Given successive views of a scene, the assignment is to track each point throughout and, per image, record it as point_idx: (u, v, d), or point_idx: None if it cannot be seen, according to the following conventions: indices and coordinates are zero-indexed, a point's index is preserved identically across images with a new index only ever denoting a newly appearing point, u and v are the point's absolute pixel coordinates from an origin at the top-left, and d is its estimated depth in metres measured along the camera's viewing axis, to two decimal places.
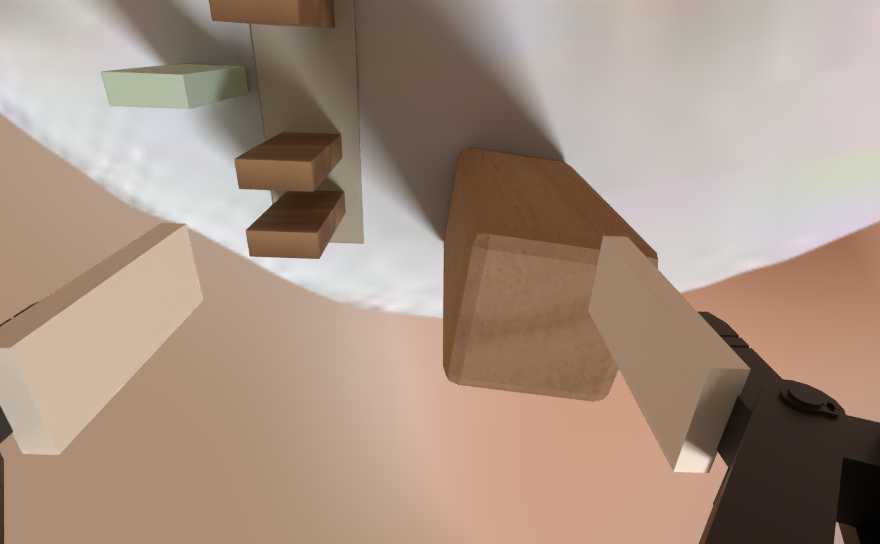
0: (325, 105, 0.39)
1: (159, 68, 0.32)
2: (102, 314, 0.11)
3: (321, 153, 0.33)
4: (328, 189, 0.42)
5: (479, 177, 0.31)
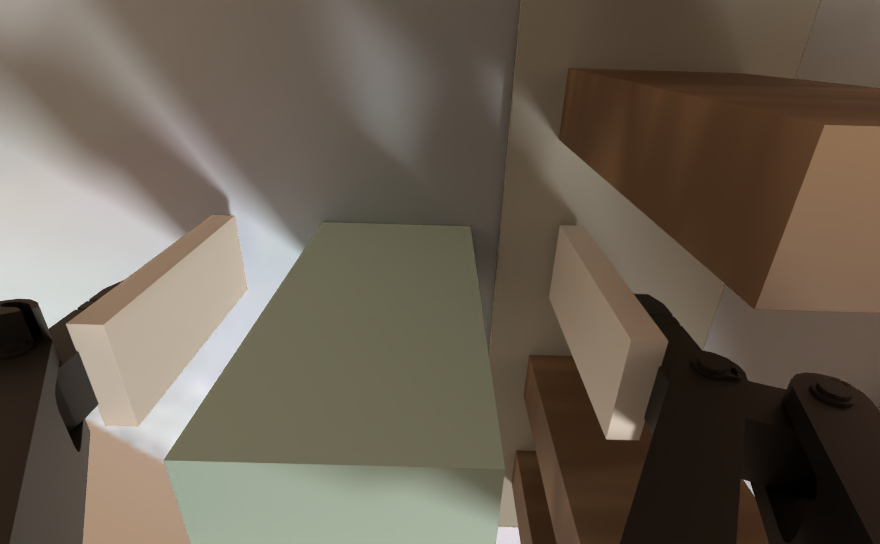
0: None
1: (321, 314, 0.11)
2: (171, 298, 0.12)
3: None
4: None
5: None
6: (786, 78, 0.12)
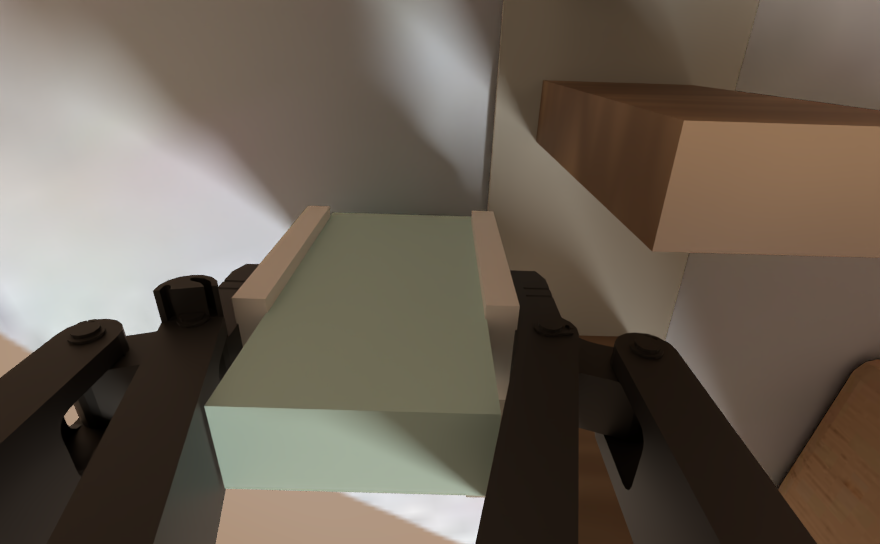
0: (613, 289, 0.19)
1: (336, 291, 0.12)
2: None
3: None
4: None
5: None
6: (721, 89, 0.14)
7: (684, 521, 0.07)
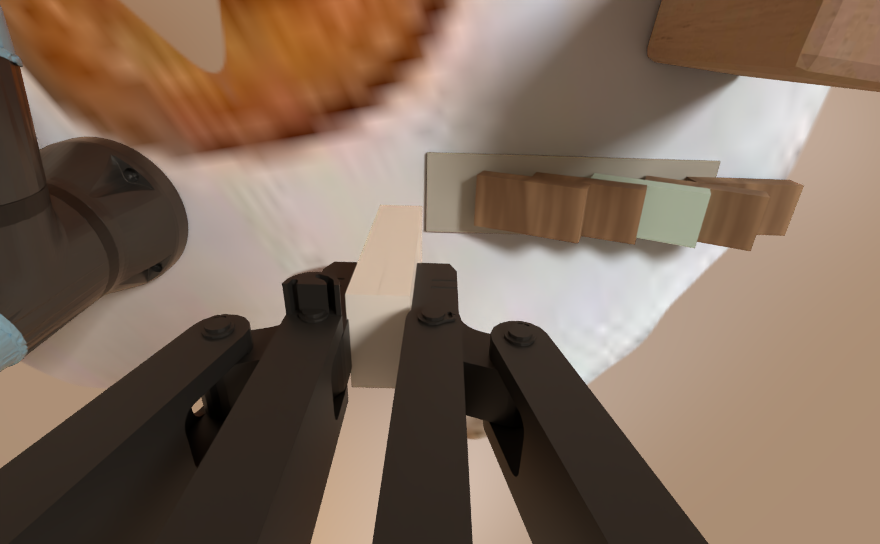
0: None
1: (649, 225, 0.43)
2: None
3: (730, 191, 0.41)
4: None
5: (701, 48, 0.31)
6: None
7: (564, 500, 0.07)
